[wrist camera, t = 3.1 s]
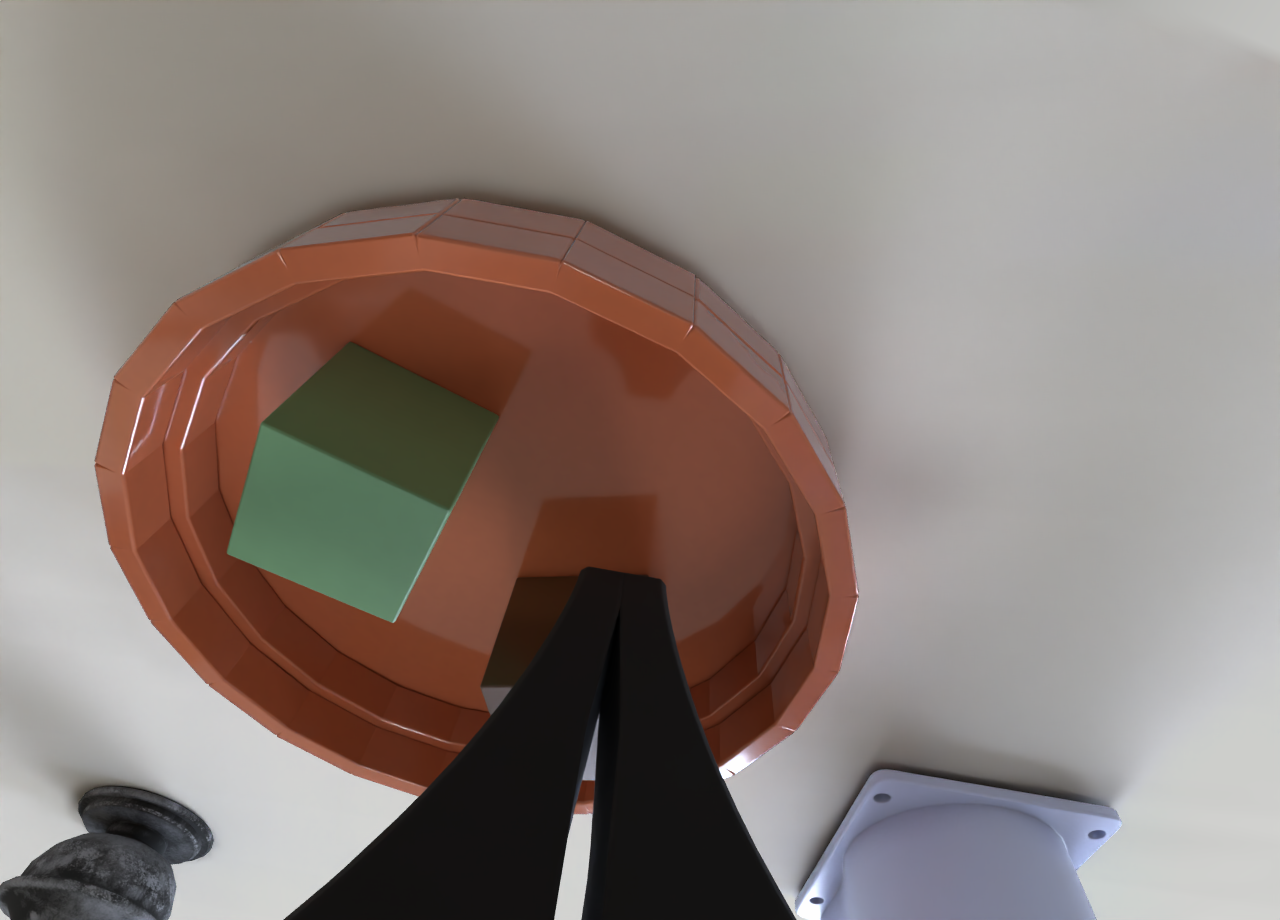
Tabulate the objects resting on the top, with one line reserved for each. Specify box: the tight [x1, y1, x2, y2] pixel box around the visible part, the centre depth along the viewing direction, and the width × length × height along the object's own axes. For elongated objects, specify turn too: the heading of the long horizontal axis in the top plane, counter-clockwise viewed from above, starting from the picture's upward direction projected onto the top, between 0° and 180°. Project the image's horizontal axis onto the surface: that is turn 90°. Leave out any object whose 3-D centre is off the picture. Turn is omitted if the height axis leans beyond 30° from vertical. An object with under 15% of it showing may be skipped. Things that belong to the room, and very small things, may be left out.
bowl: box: [95, 198, 859, 814], centre depth 16 cm, size 16×16×3 cm
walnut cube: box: [480, 575, 649, 780], centre depth 17 cm, size 4×4×4 cm
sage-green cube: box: [227, 342, 499, 623], centre depth 14 cm, size 4×4×4 cm
